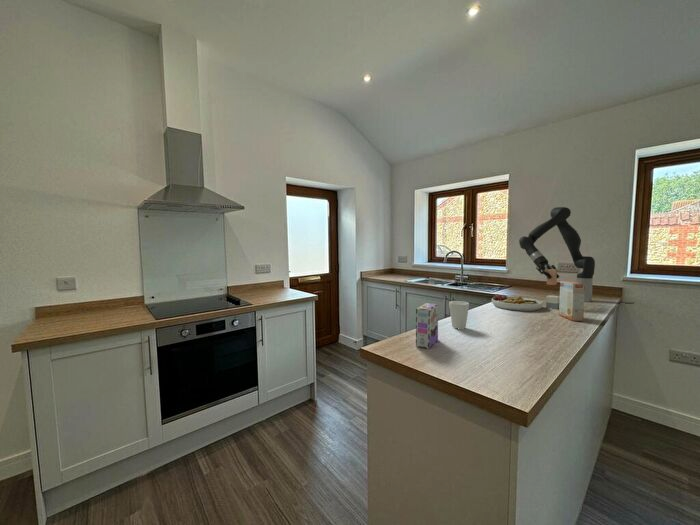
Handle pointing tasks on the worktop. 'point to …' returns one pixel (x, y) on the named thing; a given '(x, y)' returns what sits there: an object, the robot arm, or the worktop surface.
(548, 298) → the tower top
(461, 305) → the foam cup
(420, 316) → the candy box
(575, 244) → the robot arm
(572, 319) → the cracker box
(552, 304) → the tower base
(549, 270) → the pillar
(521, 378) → the worktop surface
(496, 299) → the bowl
